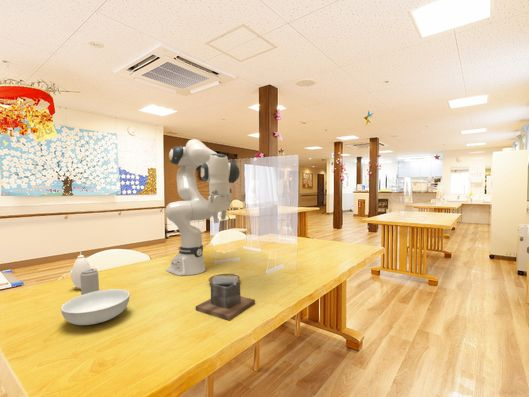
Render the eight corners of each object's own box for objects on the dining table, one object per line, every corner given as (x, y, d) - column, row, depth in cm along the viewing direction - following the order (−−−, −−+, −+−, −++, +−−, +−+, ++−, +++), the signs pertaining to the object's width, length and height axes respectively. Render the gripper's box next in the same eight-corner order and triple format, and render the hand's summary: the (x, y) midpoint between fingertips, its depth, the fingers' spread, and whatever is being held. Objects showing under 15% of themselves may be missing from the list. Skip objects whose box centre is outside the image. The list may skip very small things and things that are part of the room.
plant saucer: (202, 287, 128) (202, 281, 128) (218, 277, 142) (217, 272, 141) (231, 290, 123) (231, 285, 123) (244, 280, 137) (244, 274, 137)
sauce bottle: (70, 288, 129) (68, 250, 128) (89, 284, 134) (87, 247, 134) (74, 292, 123) (72, 252, 123) (94, 287, 129) (92, 249, 128)
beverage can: (102, 296, 119) (101, 268, 118) (89, 302, 113) (87, 273, 112) (91, 294, 121) (90, 267, 121) (77, 300, 115) (76, 271, 115)
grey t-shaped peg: (213, 302, 105) (212, 278, 104) (215, 299, 108) (215, 275, 107) (236, 303, 104) (235, 278, 103) (238, 300, 107) (237, 276, 106)
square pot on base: (195, 310, 103) (194, 286, 103) (223, 295, 117) (223, 274, 116) (228, 320, 95) (228, 294, 94) (254, 303, 108) (254, 280, 108)
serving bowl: (115, 301, 113) (115, 284, 113) (140, 315, 100) (140, 296, 100) (53, 321, 97) (52, 301, 97) (73, 341, 84) (72, 318, 84)
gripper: (218, 191, 112) (218, 225, 113) (232, 189, 132) (233, 218, 133) (203, 191, 113) (204, 224, 114) (220, 189, 133) (220, 217, 134)
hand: (219, 221), depth 124 cm, fingers open, 8 cm apart
